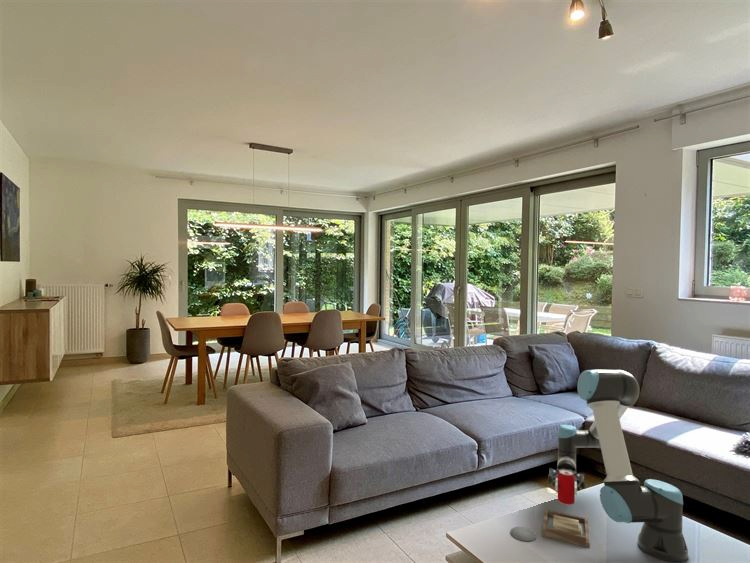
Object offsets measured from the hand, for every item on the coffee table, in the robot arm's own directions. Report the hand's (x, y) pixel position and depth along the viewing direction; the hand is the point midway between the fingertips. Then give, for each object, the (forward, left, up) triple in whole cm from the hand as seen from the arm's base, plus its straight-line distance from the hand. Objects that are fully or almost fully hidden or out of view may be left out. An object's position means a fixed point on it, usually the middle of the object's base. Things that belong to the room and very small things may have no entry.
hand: (565, 489), depth 174 cm
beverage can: (+4, -3, -7) cm, 9 cm away
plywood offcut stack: (-4, +2, -15) cm, 16 cm away
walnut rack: (0, 0, -15) cm, 15 cm away
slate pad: (-2, +18, -15) cm, 24 cm away
